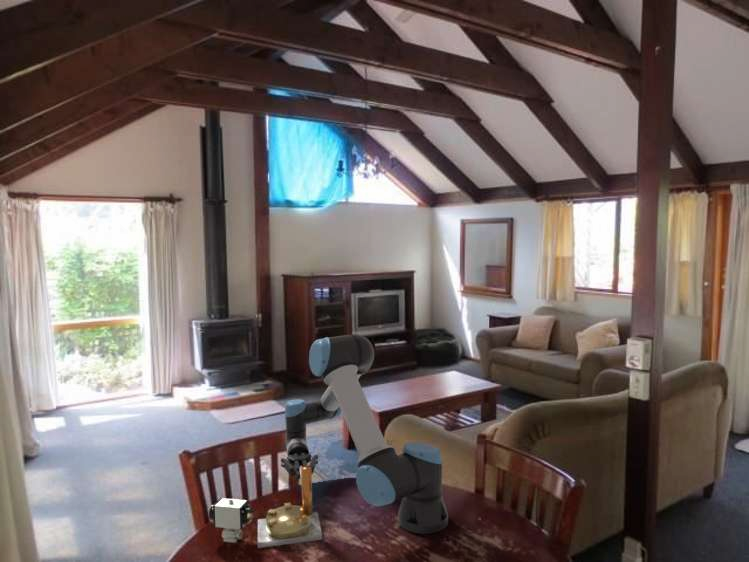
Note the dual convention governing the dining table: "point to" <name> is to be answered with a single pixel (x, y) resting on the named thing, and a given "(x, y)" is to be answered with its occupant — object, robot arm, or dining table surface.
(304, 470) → the brass lugged disc
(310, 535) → the flange plate
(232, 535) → the pneumatic valve
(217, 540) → the dining table surface
